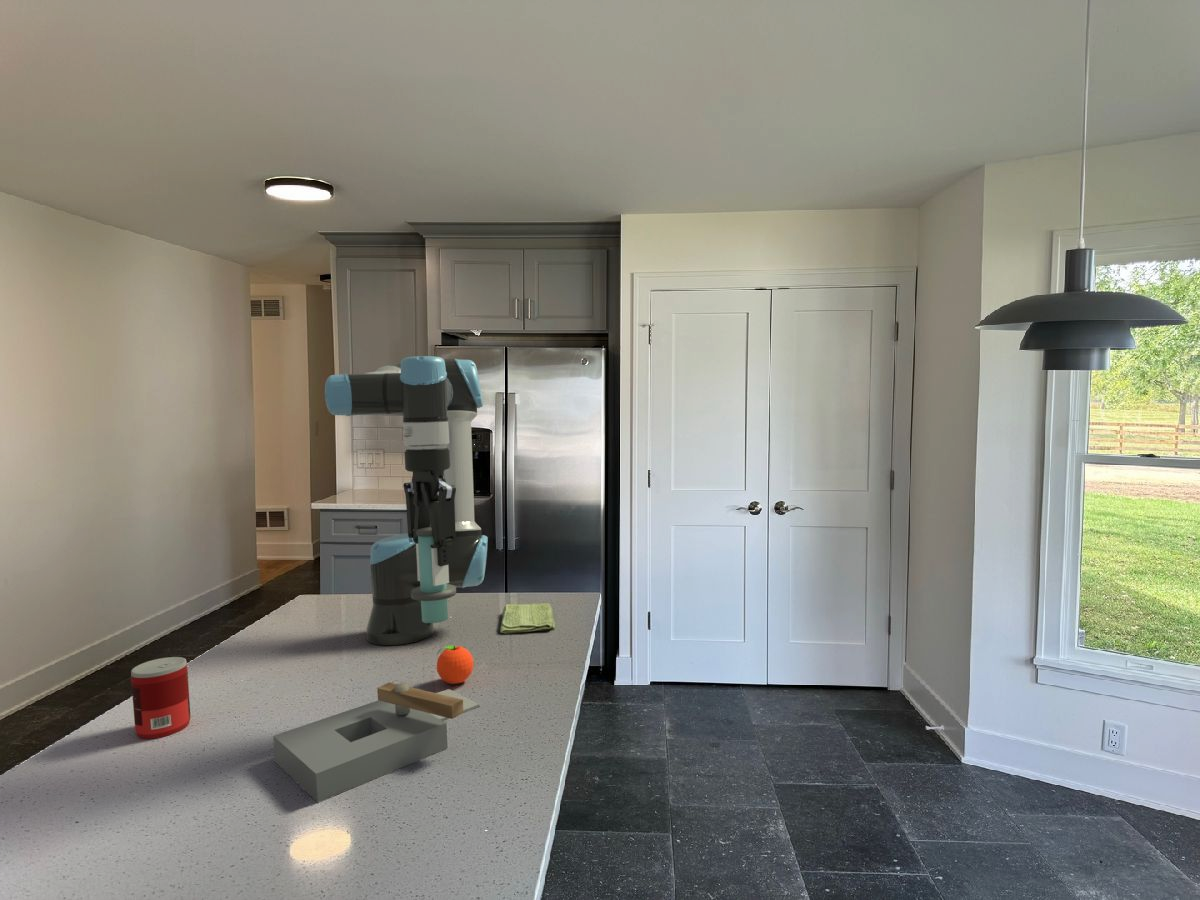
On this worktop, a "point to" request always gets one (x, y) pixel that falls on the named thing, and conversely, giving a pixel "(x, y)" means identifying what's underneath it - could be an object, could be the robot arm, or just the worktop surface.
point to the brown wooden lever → (419, 700)
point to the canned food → (160, 697)
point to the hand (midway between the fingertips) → (433, 581)
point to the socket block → (356, 747)
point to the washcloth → (527, 618)
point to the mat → (467, 702)
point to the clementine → (454, 664)
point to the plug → (430, 583)
